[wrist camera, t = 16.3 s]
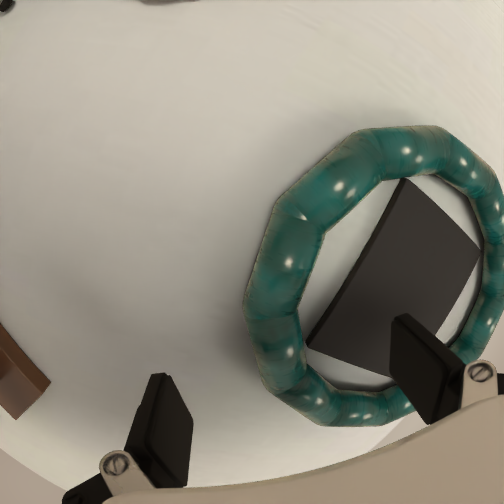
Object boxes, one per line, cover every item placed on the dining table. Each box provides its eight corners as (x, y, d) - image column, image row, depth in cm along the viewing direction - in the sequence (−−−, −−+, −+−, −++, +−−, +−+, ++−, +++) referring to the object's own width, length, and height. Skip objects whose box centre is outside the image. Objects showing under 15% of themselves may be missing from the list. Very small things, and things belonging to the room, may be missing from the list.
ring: (207, 158, 12) (202, 153, 10) (487, 128, 12) (512, 127, 10) (279, 436, 17) (284, 461, 14) (479, 355, 17) (495, 369, 14)
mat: (397, 376, 16) (401, 381, 15) (304, 341, 15) (306, 347, 14) (476, 249, 14) (482, 251, 13) (401, 177, 13) (407, 177, 12)
